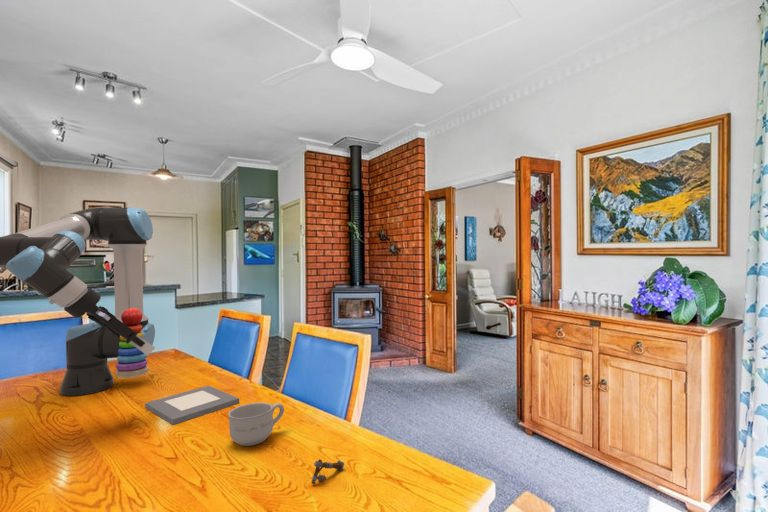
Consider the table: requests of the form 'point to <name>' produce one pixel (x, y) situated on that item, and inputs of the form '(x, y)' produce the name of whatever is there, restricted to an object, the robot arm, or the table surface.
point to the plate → (191, 404)
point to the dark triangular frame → (319, 463)
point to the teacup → (253, 422)
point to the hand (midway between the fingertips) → (146, 349)
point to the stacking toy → (131, 348)
